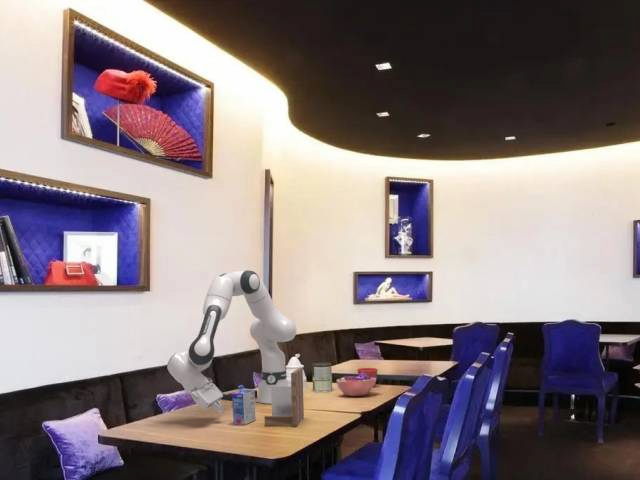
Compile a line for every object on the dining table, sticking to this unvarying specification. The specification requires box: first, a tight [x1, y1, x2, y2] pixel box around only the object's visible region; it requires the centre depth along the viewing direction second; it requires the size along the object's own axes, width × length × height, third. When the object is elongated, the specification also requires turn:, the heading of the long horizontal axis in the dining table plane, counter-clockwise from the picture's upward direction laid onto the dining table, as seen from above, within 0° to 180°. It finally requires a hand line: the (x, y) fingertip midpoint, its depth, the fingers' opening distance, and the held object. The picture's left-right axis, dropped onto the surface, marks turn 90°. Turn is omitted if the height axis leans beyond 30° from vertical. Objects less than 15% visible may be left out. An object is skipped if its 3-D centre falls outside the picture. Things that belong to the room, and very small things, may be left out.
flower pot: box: [357, 367, 378, 389], centre depth 326 cm, size 11×11×10 cm
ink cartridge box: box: [231, 384, 257, 426], centre depth 242 cm, size 10×6×14 cm, turn 159°
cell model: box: [336, 372, 377, 397], centre depth 299 cm, size 17×20×11 cm
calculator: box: [220, 387, 258, 402], centre depth 302 cm, size 11×4×15 cm
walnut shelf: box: [264, 367, 305, 428], centre depth 240 cm, size 18×12×20 cm
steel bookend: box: [271, 386, 292, 416], centre depth 248 cm, size 4×11×13 cm, turn 82°
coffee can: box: [311, 362, 333, 393], centre depth 317 cm, size 10×10×14 cm
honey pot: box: [285, 353, 308, 389], centre depth 332 cm, size 13×13×18 cm
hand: (222, 411), depth 243 cm, fingers closed
